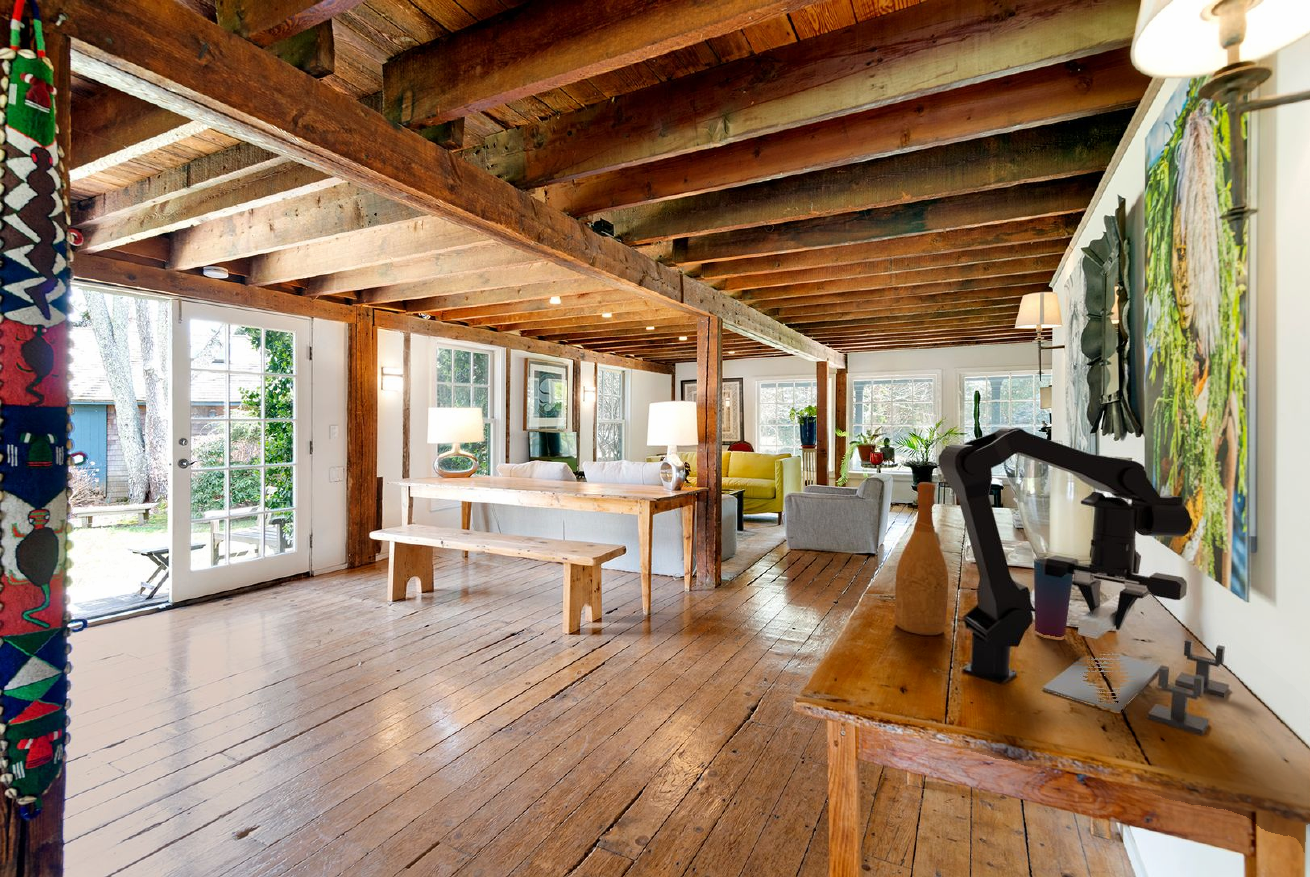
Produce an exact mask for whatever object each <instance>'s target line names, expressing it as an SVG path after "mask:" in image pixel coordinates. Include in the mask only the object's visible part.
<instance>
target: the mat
mask: <svg viewBox="0 0 1310 877" xmlns="http://www.w3.org/2000/svg"><path fill="white" fill-rule="evenodd" d="M1113 653H1114V652H1112V655H1120V658H1117V657H1116V658H1117V659H1116V660H1124V661H1120V663H1118V664H1124V666H1123V665H1122V666H1120V668H1127V669H1124V670H1123V671H1122V670H1121V671H1120V672H1128V674H1126V673H1125V674H1124V676H1132V677H1128V679H1126V678H1125V679H1123V680H1132V681H1128V682H1125V683H1123V684H1120V685H1128V686H1122V687H1121V686H1120V688H1112V689H1120V691H1119V690H1117V691H1116V692H1115V691H1114V692H1107V693H1120V695H1119V694H1118V695H1116V696H1111V697H1119V698H1116V699H1112V700H1104V699H1103V700H1102V699H1101V700H1100V699H1098V698H1096V697H1106V696H1100V695H1097V694H1094V693H1106V692H1102V691H1101V692H1100V691H1097V690H1096V689H1104V688H1098V687H1096V686H1089V685H1098V684H1093V683H1089V682H1086V681H1083V680H1087V679H1088V678H1085V677H1083V676H1088V675H1087V674H1088V673H1087V674H1086V673H1084V672H1090V671H1088V669H1086V668H1093V667H1088V666H1083V665H1079V664H1086V663H1084V662H1080V661H1078V660H1086V659H1085V658H1084V659H1082V657H1080V658H1079V659H1078V660H1077V661H1074V663H1073V664H1074V665H1073V664H1071V665H1070V666H1069V667H1068V668H1066V669H1064V670H1063V671H1062V672H1061V673H1059V674H1058V675H1057V676H1055V678H1054V677H1053V679H1052V680H1050V681H1049V682H1048V683H1046V684H1045V685H1043V687H1042V690H1043V689H1044V690H1046V691H1050V692H1052V693H1057V694H1059V695H1062V696H1065V697H1070V698H1072V699H1074V700H1078V701H1083V702H1087V703H1091V704H1094V705H1100V706H1102V707H1104V708H1107V709H1112V710H1115V711H1117V712H1120V711H1121V710H1122V709H1123V708H1124V707H1125V705H1127V703H1128V702H1129V701H1130V700H1131V699H1132V698H1133V697H1134V696H1135V695H1136V694H1137V693H1138V694H1139V693H1141V691H1142V690H1143V689H1144V688H1145V687H1146V686H1147V685H1148V683H1149V682H1151V680H1152V679H1153V678H1154V677H1155V676H1156V675H1157V674H1158V673H1159V668H1160V667H1161V666H1162V665H1161V664H1158V663H1154V662H1149V661H1146V660H1143V659H1139V658H1134V657H1131V656H1126V655H1124V654H1119V653H1115V654H1113ZM1100 655H1102V654H1100ZM1103 655H1106V654H1103ZM1107 655H1110V654H1107ZM1121 655H1122V656H1121ZM1111 659H1112V658H1110V659H1107V658H1104V657H1103V658H1099V659H1098V658H1095V659H1093V658H1092V659H1091V660H1111ZM1087 660H1090V659H1088V658H1087ZM1112 660H1115V659H1112ZM1075 664H1078V666H1077V665H1075ZM1087 664H1089V663H1087ZM1091 664H1094V663H1091ZM1095 664H1109V663H1107V662H1106V661H1104V662H1103V663H1102V662H1099V663H1097V662H1095ZM1110 664H1111V663H1110ZM1112 664H1113V663H1112ZM1116 664H1117V663H1116ZM1094 668H1112V667H1107V666H1101V665H1100V667H1098V666H1095V667H1094ZM1091 672H1097V671H1096V670H1095V671H1091ZM1099 672H1111V671H1104V670H1101V671H1099ZM1112 672H1113V671H1112ZM1116 672H1117V671H1116ZM1104 676H1105V675H1104ZM1120 676H1121V675H1120ZM1122 676H1123V675H1122ZM1099 685H1100V684H1099ZM1144 686H1145V687H1144ZM1094 689H1095V690H1094ZM1141 689H1142V690H1141ZM1140 690H1141V691H1140ZM1046 691H1045V692H1046ZM1052 693H1051V694H1052ZM1059 695H1058V696H1059ZM1062 696H1061V697H1062ZM1065 697H1064V698H1065ZM1094 697H1095V698H1094ZM1107 697H1108V696H1107ZM1109 697H1110V696H1109ZM1074 700H1073V701H1074ZM1098 701H1120V702H1118V703H1117V702H1116V703H1105V702H1104V703H1103V702H1098ZM1111 705H1112V706H1111ZM1115 705H1116V706H1115Z"/></svg>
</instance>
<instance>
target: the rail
mask: <svg viewBox="0 0 1310 877" xmlns="http://www.w3.org/2000/svg"><path fill="white" fill-rule="evenodd" d="M1119 595H1120V594H1117V595H1115V596H1113V597H1112V598H1110V599H1108V600H1107V601H1105V602H1104V603H1102V604H1100V606H1099V607H1097V608H1095V609H1094V610H1092V611H1090V610H1089V612H1087V613H1086V614H1084V615H1083V616H1080V617H1079V618H1078V627H1077V628H1078V630H1077V635H1079V636H1084V637H1088V638H1092V639H1096V640H1098V639H1099V638H1101V637H1102V636H1103V635H1105V634H1106V633H1107V632H1109V631H1110V630H1112V629H1113V628H1114V627H1116V615H1117V608H1118V602H1119ZM1135 605H1136V602H1135V603H1134V604H1133V605H1132V607H1131V609H1130V610H1129V612H1128V614H1127V616H1126V618H1125V619H1127V618H1128V617H1129V616H1131V615H1132V614H1133V613H1135V608H1136V606H1135Z"/></svg>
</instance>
